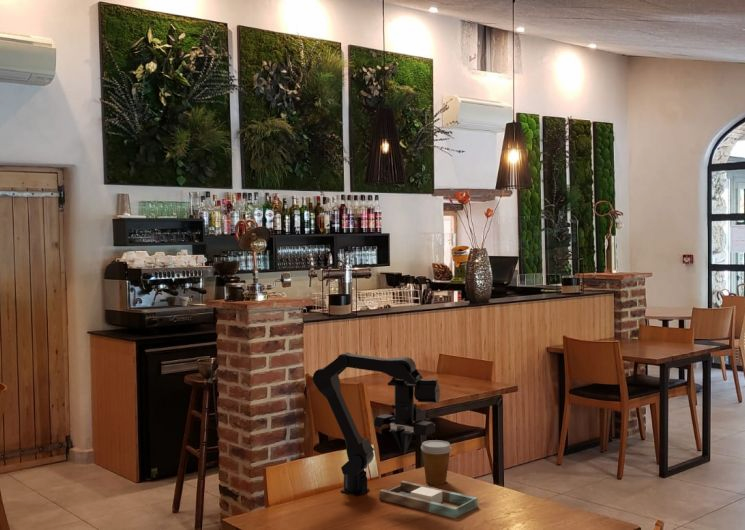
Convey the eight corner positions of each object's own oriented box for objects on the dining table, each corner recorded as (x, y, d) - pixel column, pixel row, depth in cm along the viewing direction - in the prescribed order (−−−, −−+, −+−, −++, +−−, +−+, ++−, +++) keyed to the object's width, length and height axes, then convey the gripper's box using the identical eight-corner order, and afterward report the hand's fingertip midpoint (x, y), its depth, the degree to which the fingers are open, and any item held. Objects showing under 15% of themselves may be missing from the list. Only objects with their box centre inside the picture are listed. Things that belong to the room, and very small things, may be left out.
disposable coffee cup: (449, 487, 250) (449, 448, 249) (418, 485, 252) (418, 446, 251) (452, 477, 259) (452, 440, 259) (422, 476, 261) (423, 439, 261)
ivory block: (410, 503, 236) (410, 491, 236) (421, 498, 241) (421, 486, 240) (431, 508, 232) (431, 496, 232) (442, 503, 237) (442, 491, 236)
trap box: (379, 499, 239) (379, 490, 239) (403, 488, 249) (403, 480, 248) (455, 518, 223) (455, 509, 223) (477, 506, 233) (477, 497, 233)
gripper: (445, 400, 240) (445, 452, 241) (394, 392, 252) (394, 442, 252) (424, 406, 232) (424, 461, 232) (372, 398, 243) (372, 450, 244)
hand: (404, 453), depth 240 cm, fingers closed
